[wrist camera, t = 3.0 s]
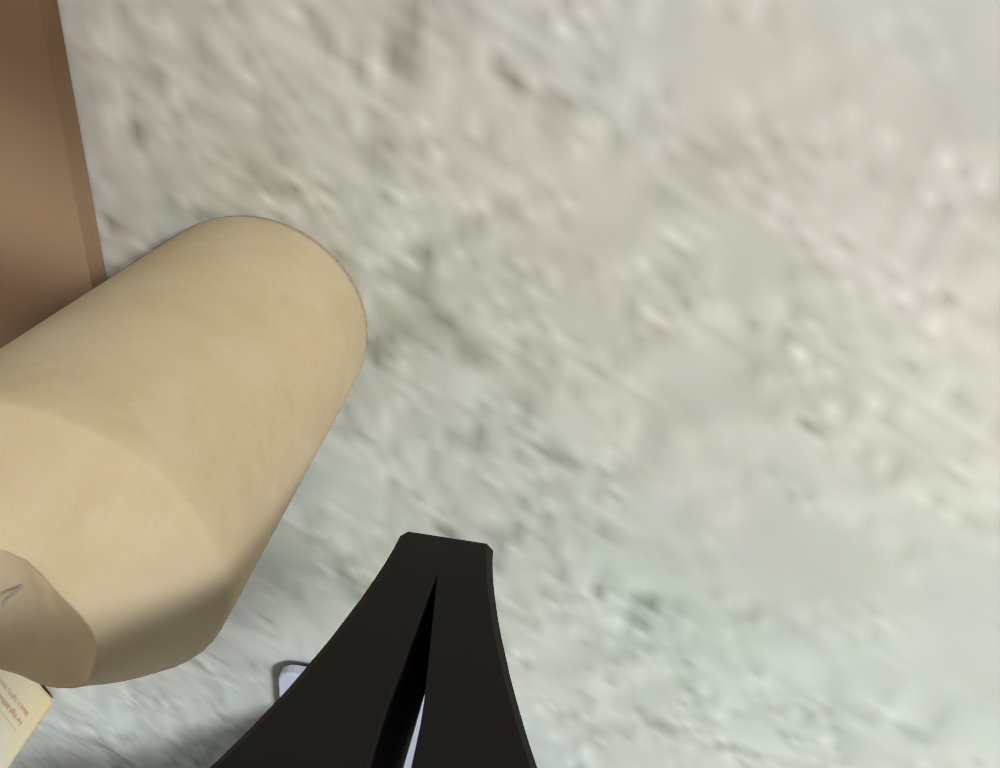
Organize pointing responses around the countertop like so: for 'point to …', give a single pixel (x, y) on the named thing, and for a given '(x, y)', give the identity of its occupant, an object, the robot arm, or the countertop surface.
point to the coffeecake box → (19, 713)
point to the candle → (163, 445)
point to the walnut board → (41, 174)
